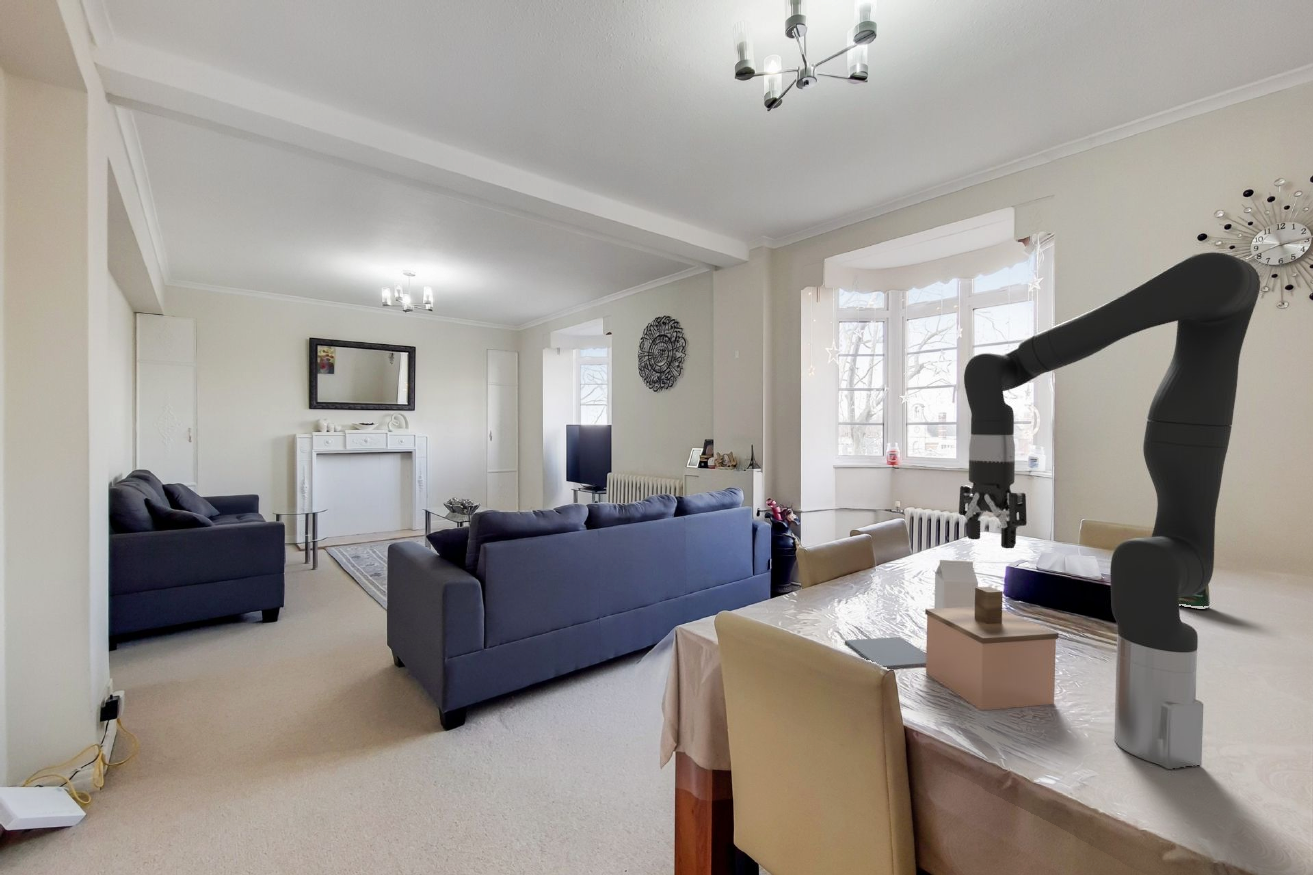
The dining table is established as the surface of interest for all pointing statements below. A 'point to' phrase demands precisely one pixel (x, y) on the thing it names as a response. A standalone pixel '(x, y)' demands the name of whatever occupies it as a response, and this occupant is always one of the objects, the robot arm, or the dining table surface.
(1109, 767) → the dining table surface
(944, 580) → the milk carton
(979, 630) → the lid
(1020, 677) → the tan open box
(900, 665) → the mat
